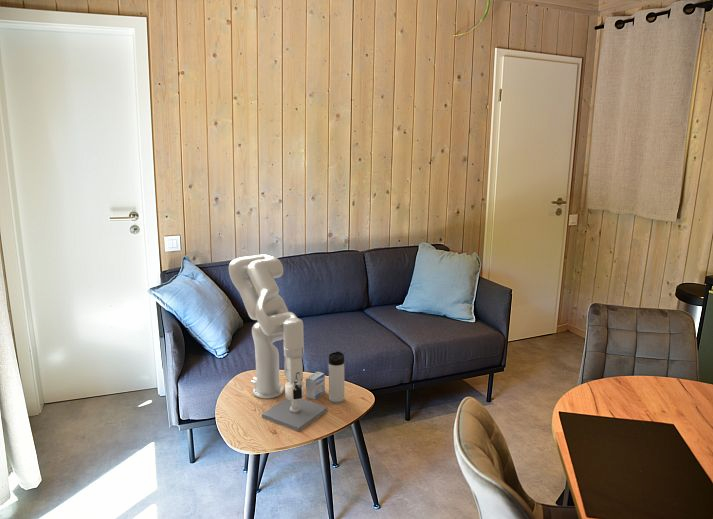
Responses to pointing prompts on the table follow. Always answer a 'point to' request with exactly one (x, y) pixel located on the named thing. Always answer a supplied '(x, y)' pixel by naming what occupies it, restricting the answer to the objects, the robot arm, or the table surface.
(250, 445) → the table surface
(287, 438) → the table surface
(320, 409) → the post base
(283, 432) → the table surface
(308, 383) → the medicine box
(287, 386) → the cap
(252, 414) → the table surface
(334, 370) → the travel mug
